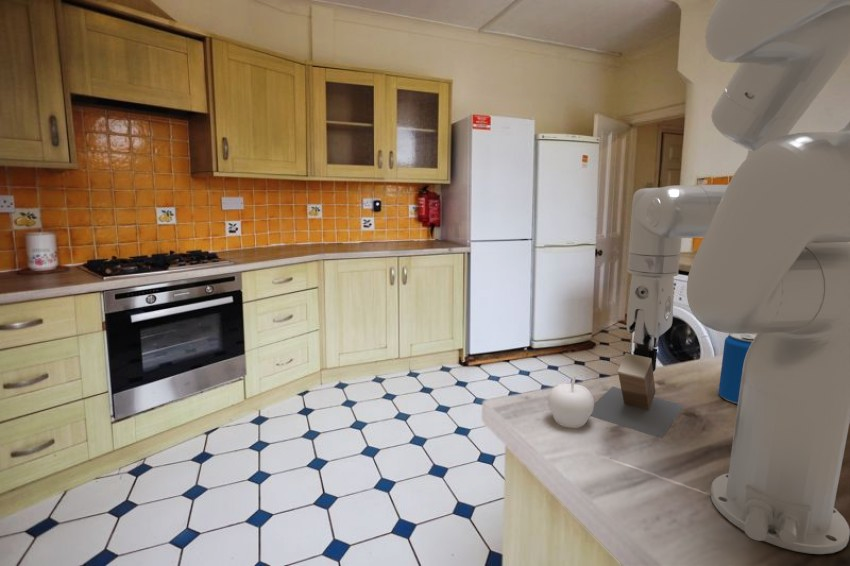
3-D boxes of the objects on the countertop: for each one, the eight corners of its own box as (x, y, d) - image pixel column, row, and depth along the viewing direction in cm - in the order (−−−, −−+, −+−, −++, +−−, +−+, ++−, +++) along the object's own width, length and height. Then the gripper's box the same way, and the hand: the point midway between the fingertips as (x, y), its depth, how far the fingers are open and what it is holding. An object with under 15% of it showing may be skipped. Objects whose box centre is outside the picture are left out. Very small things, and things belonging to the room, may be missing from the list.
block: (648, 410, 77) (644, 377, 71) (624, 403, 79) (617, 371, 74) (655, 391, 79) (651, 358, 74) (631, 385, 81) (625, 352, 76)
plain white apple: (602, 427, 72) (606, 380, 71) (569, 438, 69) (571, 389, 67) (570, 409, 78) (572, 365, 77) (538, 419, 75) (539, 373, 74)
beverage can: (724, 406, 79) (732, 339, 76) (713, 391, 85) (720, 329, 82) (768, 411, 77) (778, 343, 74) (753, 395, 83) (762, 331, 81)
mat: (662, 440, 68) (662, 438, 68) (583, 415, 76) (583, 413, 76) (683, 407, 79) (683, 404, 78) (612, 388, 86) (612, 386, 86)
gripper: (665, 272, 67) (655, 390, 70) (689, 261, 78) (678, 363, 81) (613, 267, 72) (605, 378, 75) (642, 257, 83) (634, 354, 86)
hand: (643, 370), depth 78 cm, fingers closed
